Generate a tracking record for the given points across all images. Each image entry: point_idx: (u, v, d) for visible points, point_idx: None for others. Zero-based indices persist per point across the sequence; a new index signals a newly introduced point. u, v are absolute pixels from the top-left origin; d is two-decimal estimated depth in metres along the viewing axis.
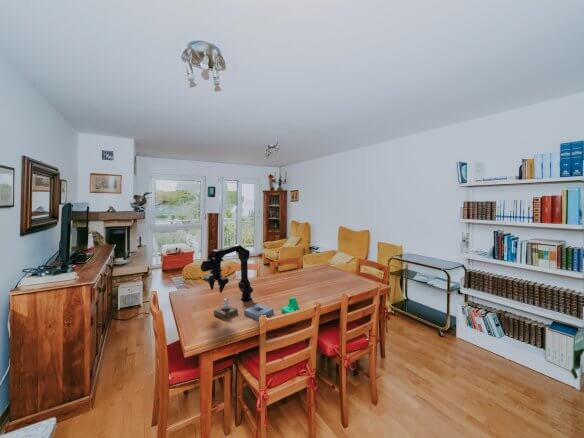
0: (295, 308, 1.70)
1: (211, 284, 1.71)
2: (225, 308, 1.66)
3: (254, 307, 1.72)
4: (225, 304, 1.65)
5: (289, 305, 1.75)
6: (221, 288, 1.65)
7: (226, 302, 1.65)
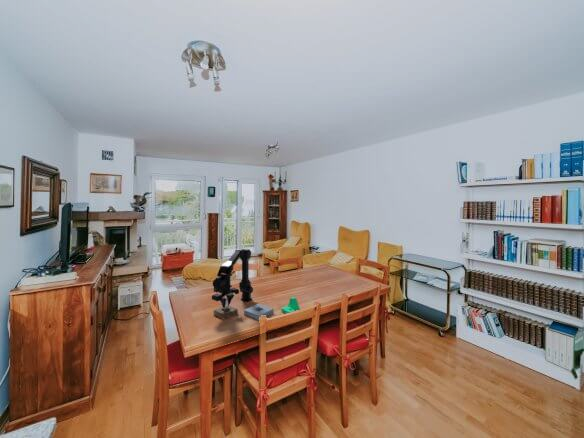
0: (295, 308, 1.71)
1: None
2: (225, 308, 1.66)
3: (254, 307, 1.72)
4: (225, 304, 1.65)
5: (289, 305, 1.75)
6: (222, 303, 1.65)
7: (226, 302, 1.65)
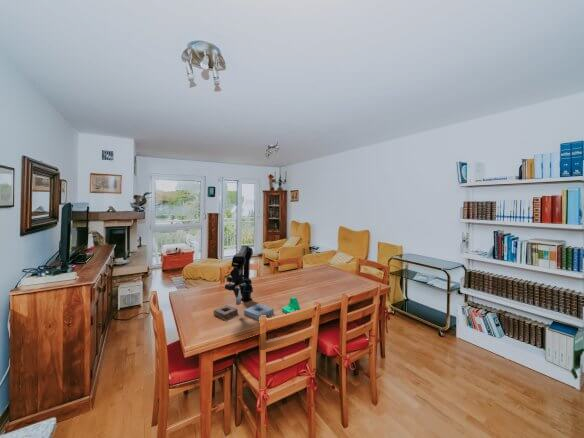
0: (296, 308, 1.71)
1: None
2: (238, 298, 1.66)
3: (254, 307, 1.72)
4: (238, 294, 1.65)
5: (290, 305, 1.76)
6: (234, 292, 1.65)
7: (239, 292, 1.66)
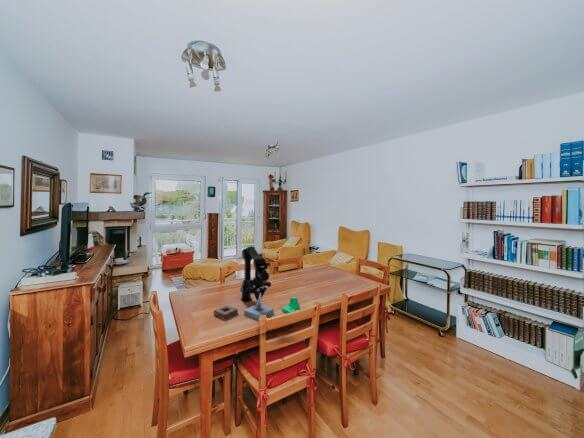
0: (296, 308, 1.71)
1: None
2: (258, 301, 1.67)
3: (254, 307, 1.72)
4: (259, 297, 1.67)
5: (290, 305, 1.76)
6: (255, 295, 1.66)
7: (260, 295, 1.67)
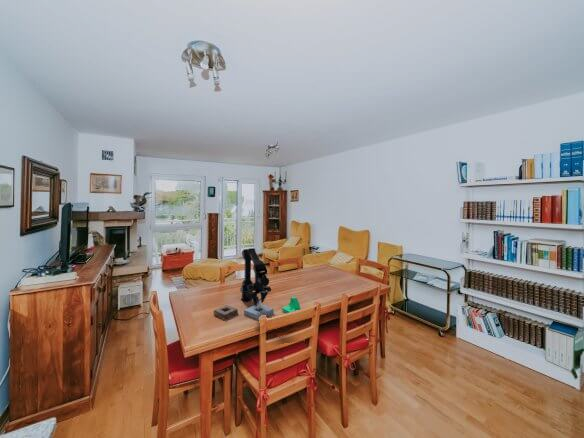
0: (296, 307, 1.71)
1: (261, 297, 1.71)
2: (258, 308, 1.67)
3: (254, 307, 1.72)
4: (258, 304, 1.67)
5: (290, 305, 1.76)
6: (254, 301, 1.65)
7: (259, 302, 1.67)
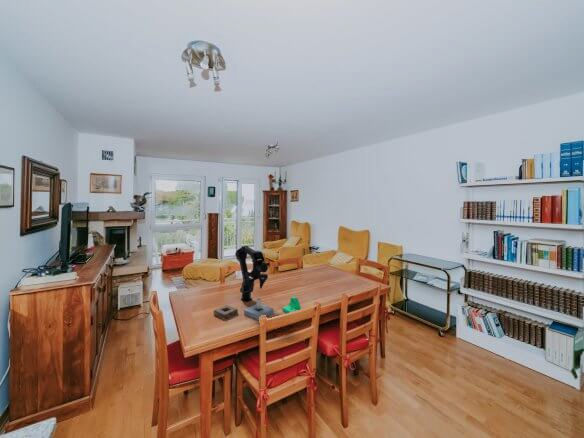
0: (297, 307, 1.71)
1: (260, 283, 1.84)
2: (258, 308, 1.67)
3: (254, 307, 1.72)
4: (258, 304, 1.67)
5: (290, 304, 1.76)
6: (250, 287, 1.75)
7: (259, 302, 1.67)
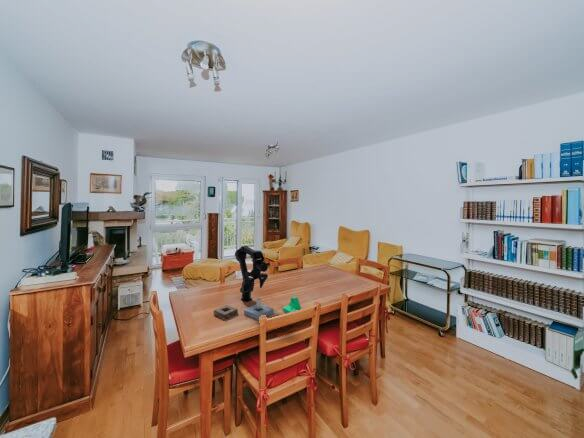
0: (297, 307, 1.72)
1: (260, 282, 1.84)
2: (258, 308, 1.67)
3: (254, 307, 1.72)
4: (258, 304, 1.67)
5: (291, 304, 1.76)
6: (250, 287, 1.76)
7: (259, 302, 1.67)
